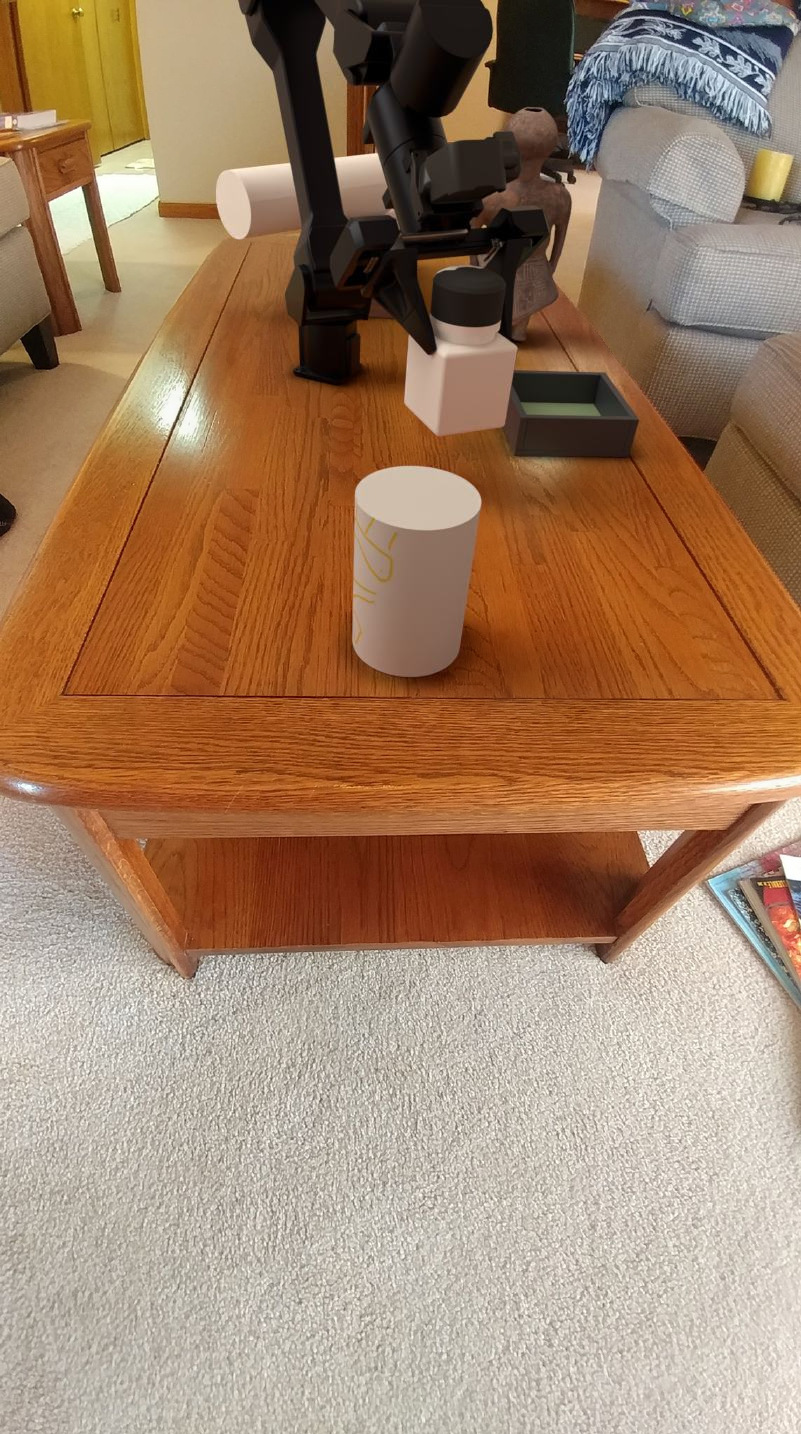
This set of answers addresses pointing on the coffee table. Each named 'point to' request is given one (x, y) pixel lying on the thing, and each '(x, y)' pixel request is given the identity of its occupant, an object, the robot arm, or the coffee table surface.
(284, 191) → the cylindrical container
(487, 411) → the medicine bottle
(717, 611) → the coffee table surface
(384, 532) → the yellow-doodled white cylinder
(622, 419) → the holder
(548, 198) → the clay figurine
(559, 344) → the coffee table surface
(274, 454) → the coffee table surface
